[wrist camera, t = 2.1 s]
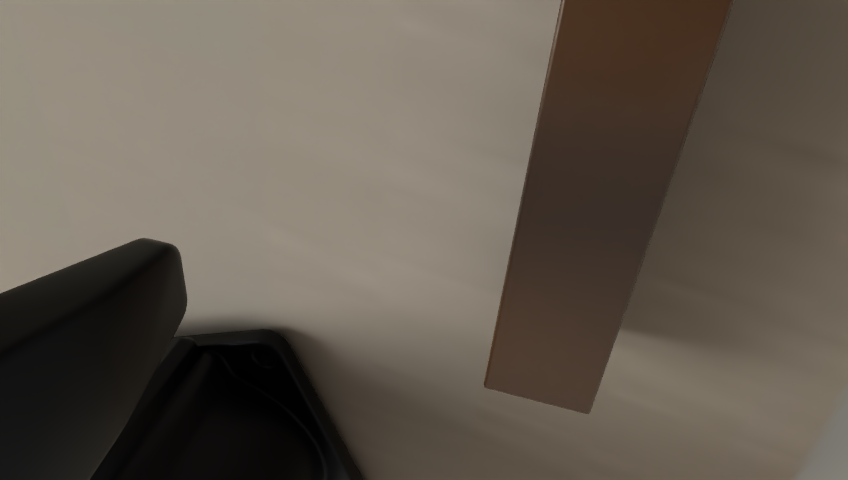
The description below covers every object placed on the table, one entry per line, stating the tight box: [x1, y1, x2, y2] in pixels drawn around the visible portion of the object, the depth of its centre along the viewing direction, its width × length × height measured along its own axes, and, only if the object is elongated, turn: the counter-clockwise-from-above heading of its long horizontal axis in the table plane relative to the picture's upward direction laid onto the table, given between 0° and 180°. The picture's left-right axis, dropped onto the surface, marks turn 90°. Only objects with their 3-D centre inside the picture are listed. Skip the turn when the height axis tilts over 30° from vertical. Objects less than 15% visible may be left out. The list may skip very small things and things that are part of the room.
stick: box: [484, 0, 734, 414], centre depth 10 cm, size 7×2×2 cm, turn 175°
